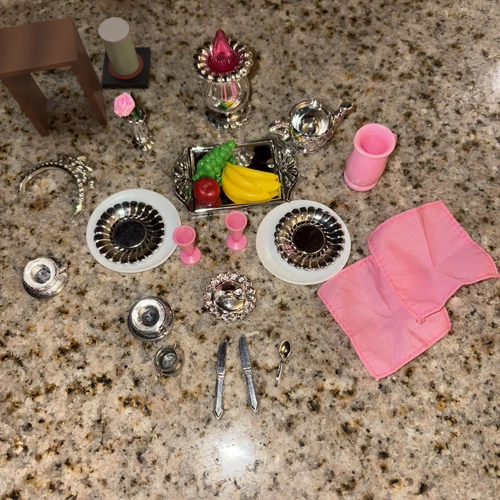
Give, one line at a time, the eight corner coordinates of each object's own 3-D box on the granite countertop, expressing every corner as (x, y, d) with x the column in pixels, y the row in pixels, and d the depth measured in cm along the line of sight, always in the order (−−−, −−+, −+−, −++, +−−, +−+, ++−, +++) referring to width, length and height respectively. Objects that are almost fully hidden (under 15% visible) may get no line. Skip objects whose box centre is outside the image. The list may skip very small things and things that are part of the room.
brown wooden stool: (41, 137, 104) (-4, 74, 85) (38, 98, 107) (-7, 29, 88) (107, 124, 105) (77, 59, 86) (102, 87, 108) (71, 16, 89)
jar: (110, 75, 107) (96, 41, 98) (112, 52, 109) (99, 17, 100) (138, 75, 107) (128, 41, 98) (140, 52, 109) (130, 17, 100)
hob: (103, 88, 108) (100, 83, 106) (107, 51, 111) (105, 46, 110) (148, 88, 108) (146, 83, 107) (151, 51, 111) (149, 46, 110)
